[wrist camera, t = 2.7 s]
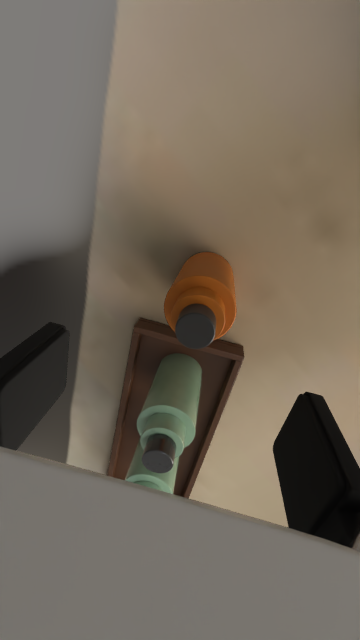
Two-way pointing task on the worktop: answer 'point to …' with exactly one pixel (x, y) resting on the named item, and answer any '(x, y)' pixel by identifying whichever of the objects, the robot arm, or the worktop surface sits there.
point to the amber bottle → (201, 300)
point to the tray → (144, 358)
